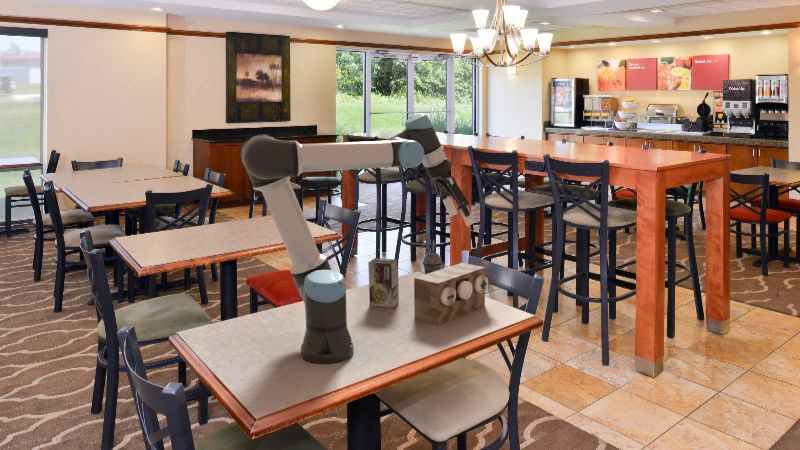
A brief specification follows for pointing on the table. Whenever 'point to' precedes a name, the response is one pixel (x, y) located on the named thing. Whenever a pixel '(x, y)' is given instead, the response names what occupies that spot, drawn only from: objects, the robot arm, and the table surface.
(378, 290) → the coffee box
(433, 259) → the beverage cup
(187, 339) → the table surface
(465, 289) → the plain button
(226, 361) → the table surface
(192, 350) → the table surface
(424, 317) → the walnut console
